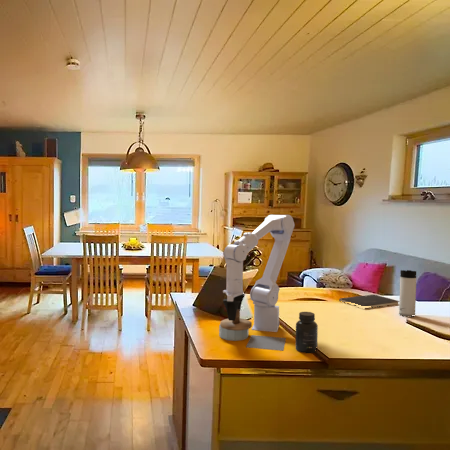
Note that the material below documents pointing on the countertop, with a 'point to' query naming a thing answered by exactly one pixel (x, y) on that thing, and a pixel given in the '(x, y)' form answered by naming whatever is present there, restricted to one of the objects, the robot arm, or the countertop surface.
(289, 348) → the countertop surface
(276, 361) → the countertop surface
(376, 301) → the hardcover book
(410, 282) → the travel mug
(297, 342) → the supplement bottle
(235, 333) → the bowl
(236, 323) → the lid
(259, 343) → the mat
